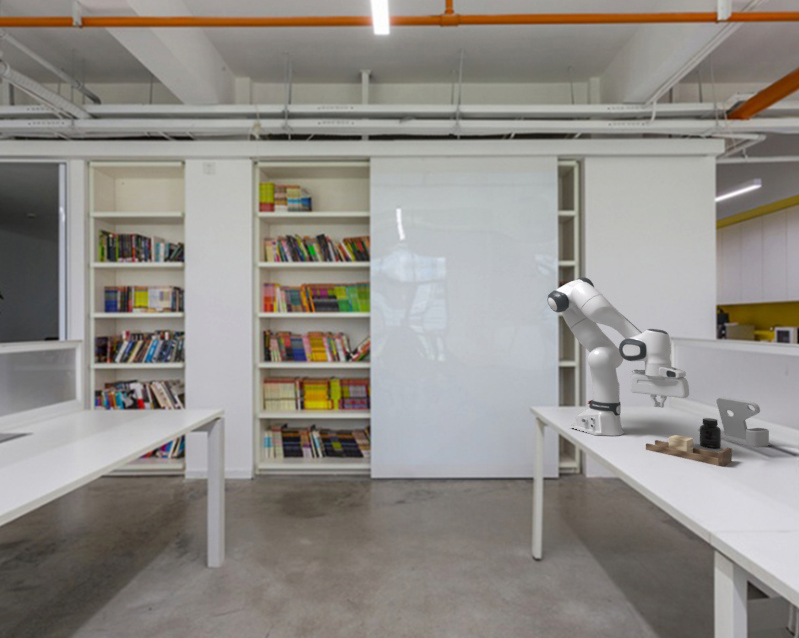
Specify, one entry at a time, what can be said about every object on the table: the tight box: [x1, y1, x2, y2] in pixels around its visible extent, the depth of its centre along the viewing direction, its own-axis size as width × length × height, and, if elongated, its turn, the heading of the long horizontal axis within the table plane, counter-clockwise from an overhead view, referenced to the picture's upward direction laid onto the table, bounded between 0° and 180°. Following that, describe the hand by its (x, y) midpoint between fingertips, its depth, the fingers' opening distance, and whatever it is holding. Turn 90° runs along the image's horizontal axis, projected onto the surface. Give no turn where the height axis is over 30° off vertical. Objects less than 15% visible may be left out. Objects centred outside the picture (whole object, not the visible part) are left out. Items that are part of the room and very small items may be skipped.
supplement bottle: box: [699, 417, 722, 450], centre depth 177 cm, size 7×7×12 cm
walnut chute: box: [645, 439, 733, 467], centre depth 165 cm, size 25×9×6 cm, turn 37°
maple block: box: [668, 434, 694, 453], centre depth 167 cm, size 6×6×6 cm
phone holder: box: [716, 396, 771, 448], centre depth 189 cm, size 17×10×18 cm, turn 19°
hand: (658, 406), depth 173 cm, fingers closed
